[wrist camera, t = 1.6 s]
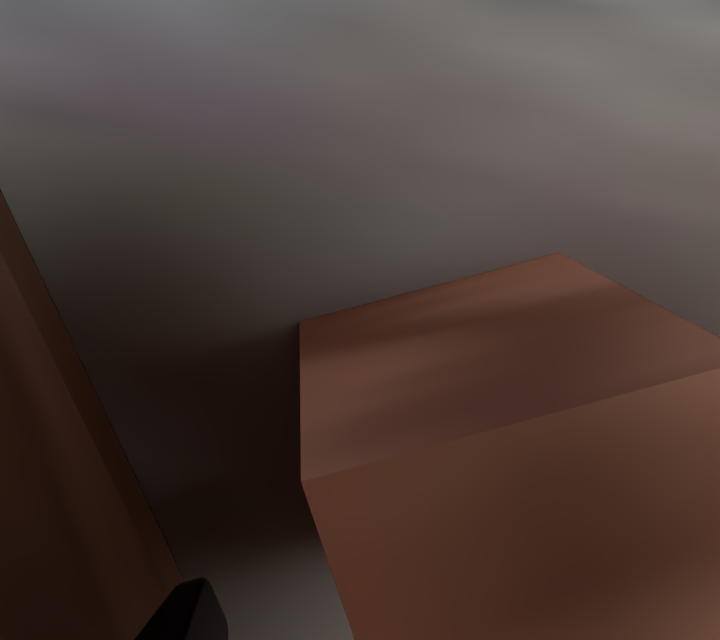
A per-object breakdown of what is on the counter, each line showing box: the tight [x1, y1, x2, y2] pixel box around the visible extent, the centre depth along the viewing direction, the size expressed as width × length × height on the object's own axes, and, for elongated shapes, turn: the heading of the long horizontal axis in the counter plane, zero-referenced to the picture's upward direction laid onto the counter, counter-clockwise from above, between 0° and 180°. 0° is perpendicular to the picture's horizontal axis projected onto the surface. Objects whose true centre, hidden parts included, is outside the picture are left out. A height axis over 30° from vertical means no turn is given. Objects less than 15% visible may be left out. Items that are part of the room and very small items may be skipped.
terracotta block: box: [300, 253, 720, 640], centre depth 9 cm, size 5×5×5 cm
